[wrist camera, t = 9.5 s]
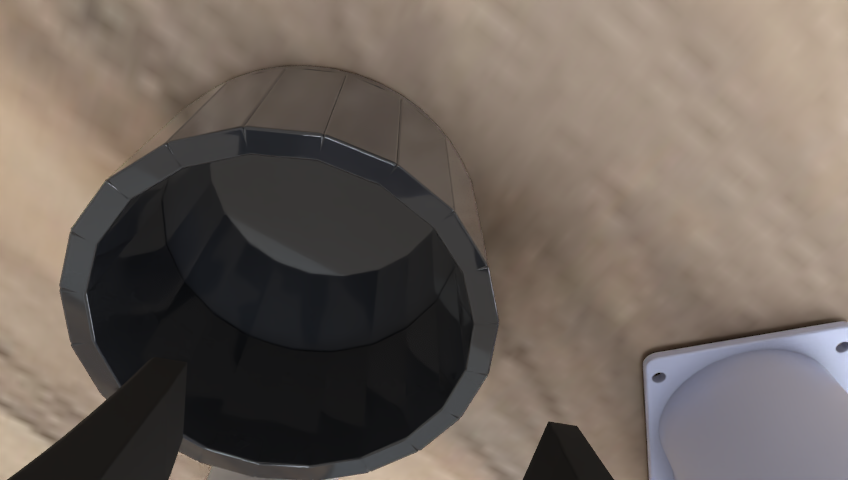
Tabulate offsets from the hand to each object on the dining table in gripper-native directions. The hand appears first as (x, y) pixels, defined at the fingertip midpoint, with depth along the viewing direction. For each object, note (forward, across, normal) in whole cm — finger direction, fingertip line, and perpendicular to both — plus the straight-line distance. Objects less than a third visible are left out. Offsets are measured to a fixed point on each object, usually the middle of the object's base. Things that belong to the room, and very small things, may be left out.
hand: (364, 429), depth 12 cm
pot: (+10, +2, +2) cm, 11 cm away
